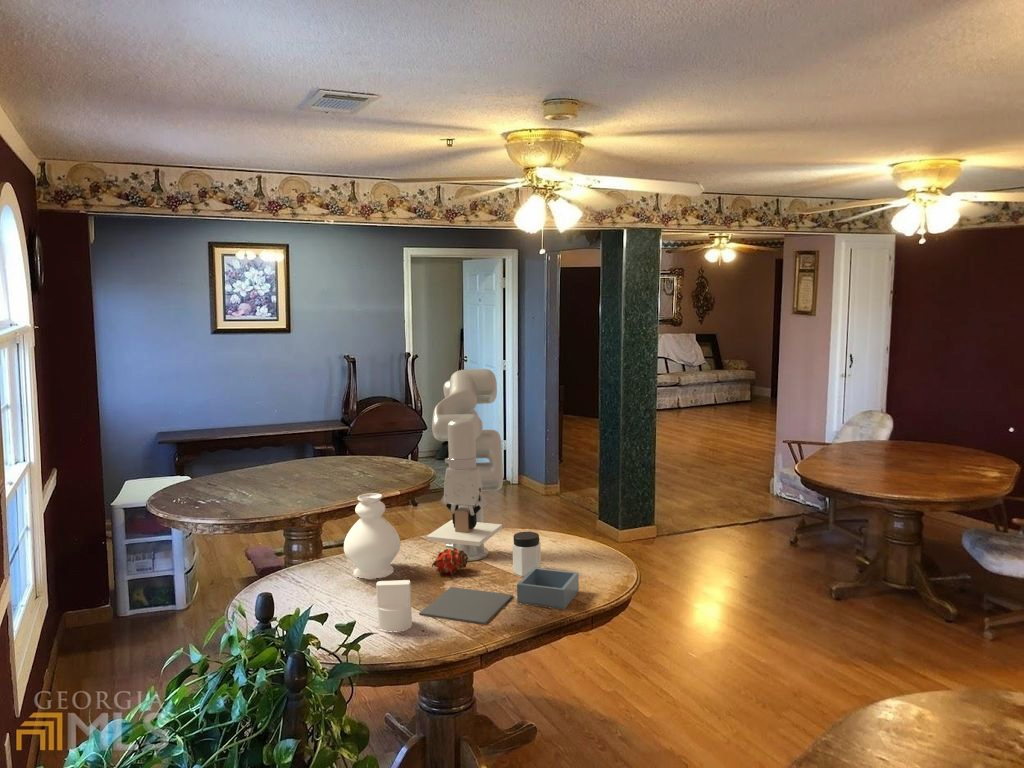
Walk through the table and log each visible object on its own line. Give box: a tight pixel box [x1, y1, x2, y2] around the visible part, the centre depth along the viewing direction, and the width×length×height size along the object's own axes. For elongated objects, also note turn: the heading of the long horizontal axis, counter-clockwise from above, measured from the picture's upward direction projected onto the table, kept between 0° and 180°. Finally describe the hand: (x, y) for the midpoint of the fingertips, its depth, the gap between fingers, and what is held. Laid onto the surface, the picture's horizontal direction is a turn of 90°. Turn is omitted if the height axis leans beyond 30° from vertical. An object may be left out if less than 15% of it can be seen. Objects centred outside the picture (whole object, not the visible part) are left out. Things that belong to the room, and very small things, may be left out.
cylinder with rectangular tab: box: [375, 579, 413, 633], centre depth 211 cm, size 9×9×12 cm
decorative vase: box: [343, 492, 401, 580], centre depth 251 cm, size 18×18×25 cm
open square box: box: [516, 567, 580, 610], centre depth 228 cm, size 14×14×6 cm
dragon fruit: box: [431, 548, 468, 576], centre depth 250 cm, size 8×8×12 cm
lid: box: [425, 507, 503, 546], centre depth 221 cm, size 16×16×7 cm
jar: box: [511, 531, 542, 578], centre depth 248 cm, size 9×8×12 cm
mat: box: [418, 586, 514, 626], centre depth 224 cm, size 20×20×1 cm
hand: (464, 526), depth 221 cm, fingers closed on lid, 4 cm apart
